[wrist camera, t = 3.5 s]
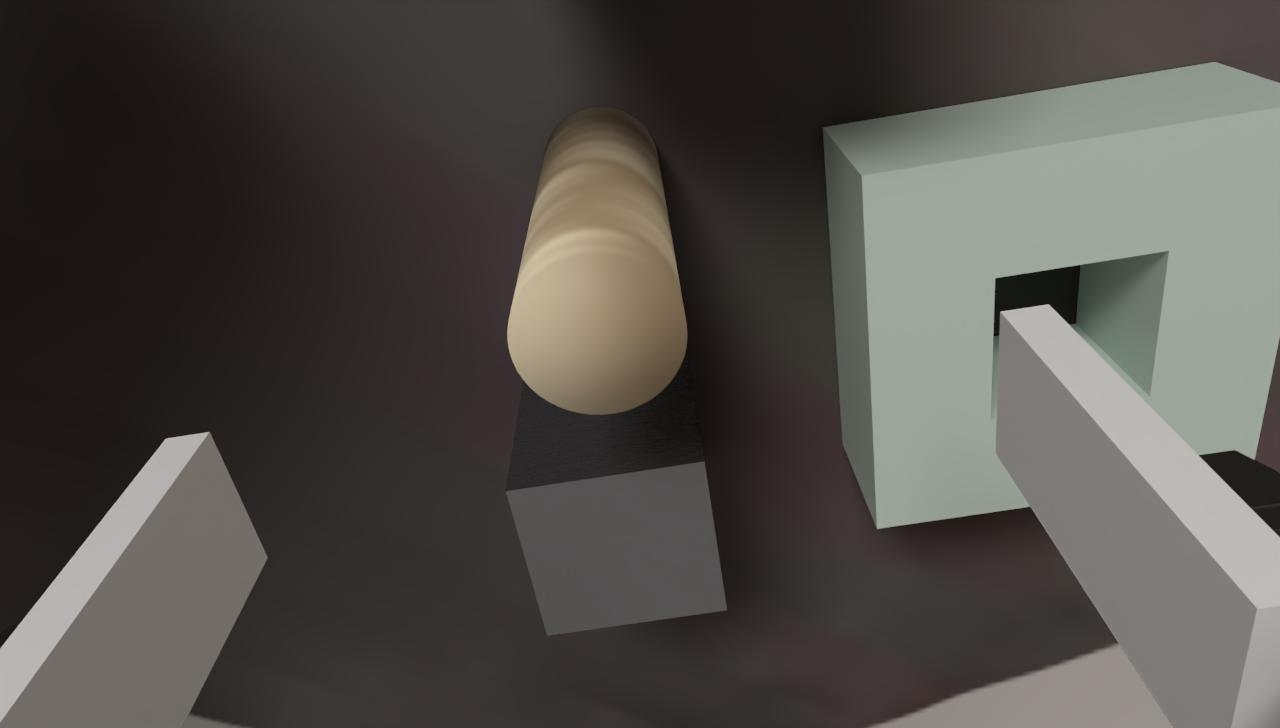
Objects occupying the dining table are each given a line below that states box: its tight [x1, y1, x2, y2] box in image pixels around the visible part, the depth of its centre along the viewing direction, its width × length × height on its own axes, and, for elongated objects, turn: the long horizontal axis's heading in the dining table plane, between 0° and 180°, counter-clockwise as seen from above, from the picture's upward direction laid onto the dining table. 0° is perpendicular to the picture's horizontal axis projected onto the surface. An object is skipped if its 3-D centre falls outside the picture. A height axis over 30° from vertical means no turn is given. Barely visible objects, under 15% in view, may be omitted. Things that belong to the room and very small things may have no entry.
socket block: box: [823, 62, 1280, 529], centre depth 29 cm, size 12×12×5 cm
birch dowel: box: [507, 107, 687, 415], centre depth 23 cm, size 4×4×12 cm
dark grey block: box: [506, 351, 727, 636], centre depth 30 cm, size 6×6×8 cm
